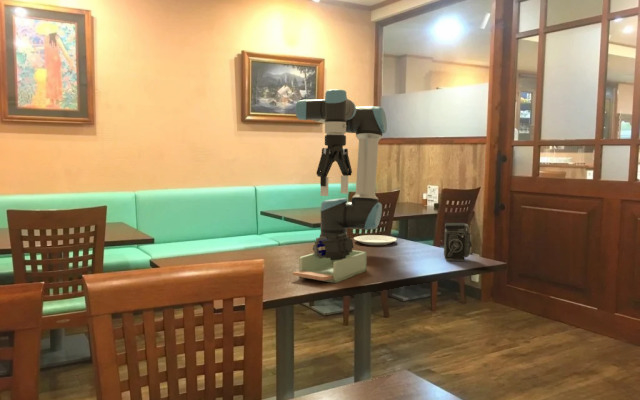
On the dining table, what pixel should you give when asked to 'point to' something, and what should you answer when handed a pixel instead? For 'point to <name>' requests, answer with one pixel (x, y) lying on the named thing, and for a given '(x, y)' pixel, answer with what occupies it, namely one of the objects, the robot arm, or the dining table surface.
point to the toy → (333, 247)
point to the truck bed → (335, 265)
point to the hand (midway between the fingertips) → (334, 194)
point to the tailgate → (313, 275)
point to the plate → (375, 239)
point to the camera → (457, 241)
